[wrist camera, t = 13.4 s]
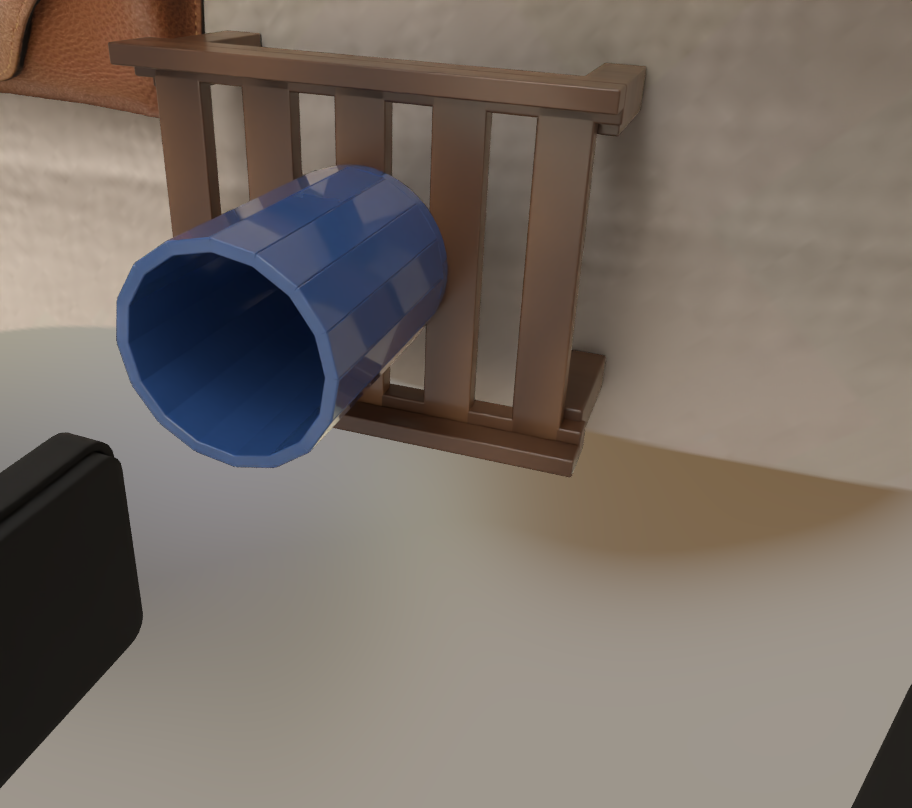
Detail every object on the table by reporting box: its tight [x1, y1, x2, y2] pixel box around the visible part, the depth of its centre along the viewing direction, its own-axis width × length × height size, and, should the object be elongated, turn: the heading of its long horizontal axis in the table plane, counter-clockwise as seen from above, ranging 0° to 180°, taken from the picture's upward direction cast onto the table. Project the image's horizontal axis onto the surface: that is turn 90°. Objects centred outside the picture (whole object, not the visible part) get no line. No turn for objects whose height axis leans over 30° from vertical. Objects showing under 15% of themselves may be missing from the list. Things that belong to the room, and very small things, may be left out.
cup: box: [116, 164, 448, 468], centre depth 27 cm, size 7×7×9 cm
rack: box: [108, 31, 646, 477], centre depth 33 cm, size 17×13×7 cm
